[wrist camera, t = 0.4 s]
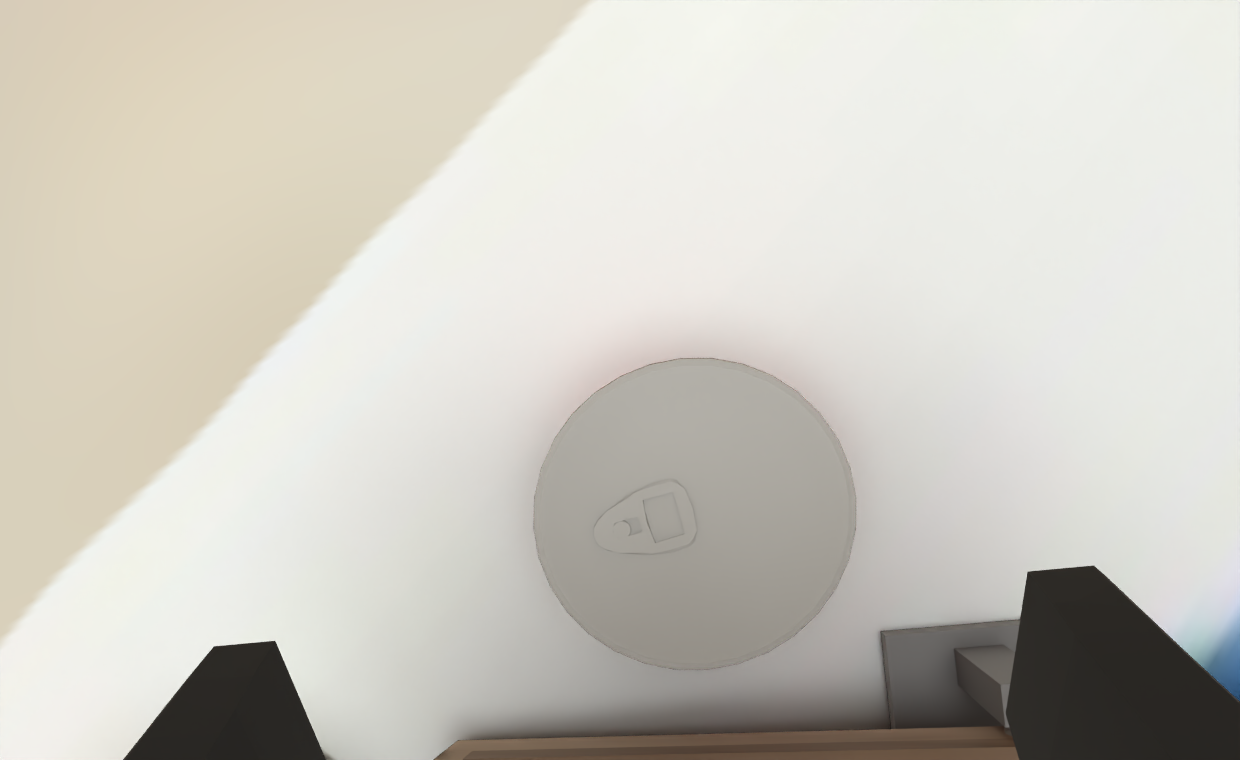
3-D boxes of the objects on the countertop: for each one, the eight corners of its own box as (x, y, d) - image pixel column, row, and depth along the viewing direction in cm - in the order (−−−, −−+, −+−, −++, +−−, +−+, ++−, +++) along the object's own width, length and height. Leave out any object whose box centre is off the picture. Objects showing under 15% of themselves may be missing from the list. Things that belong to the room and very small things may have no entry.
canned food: (535, 456, 36) (472, 465, 25) (728, 336, 36) (749, 292, 25) (650, 645, 36) (637, 738, 25) (847, 523, 35) (922, 562, 24)
